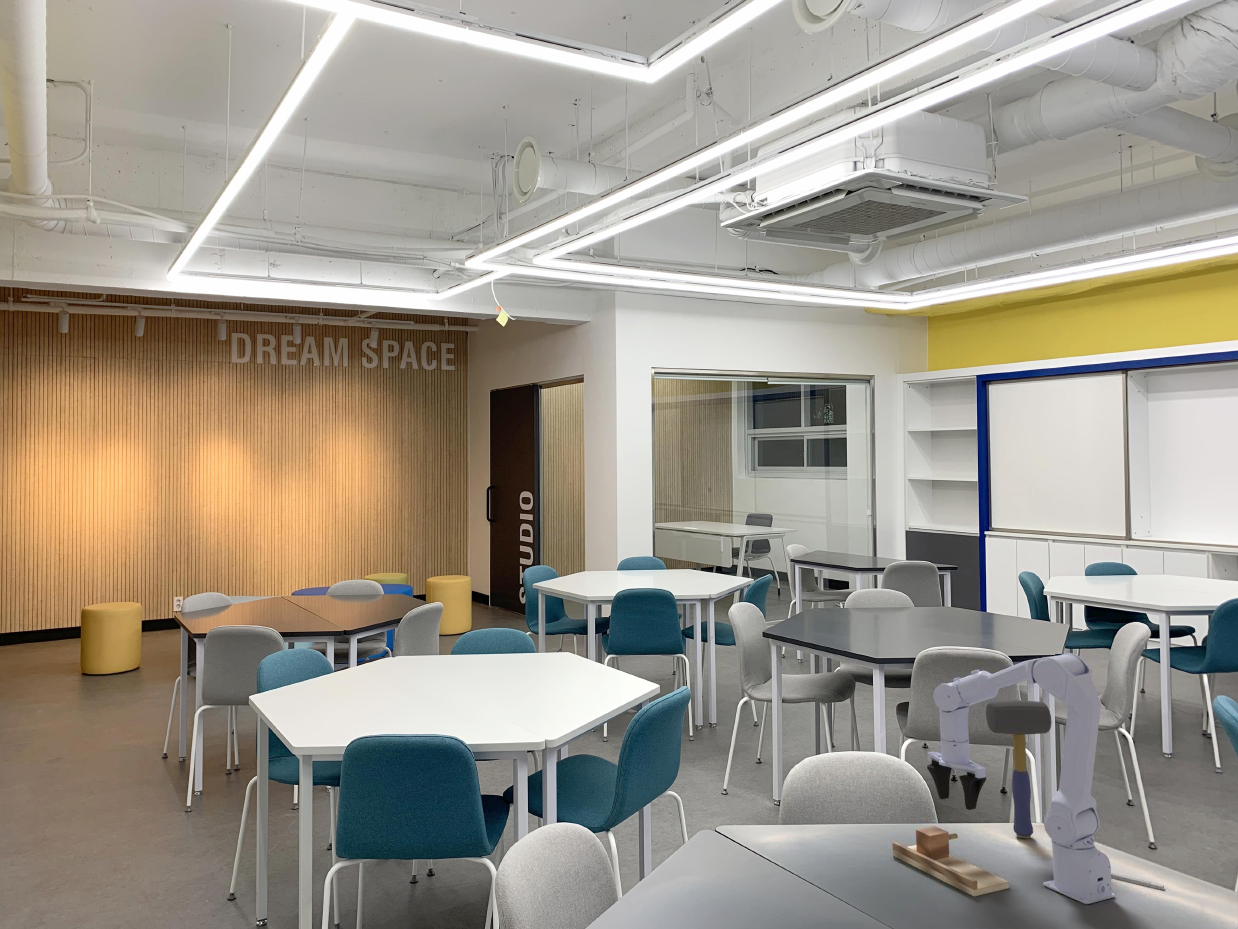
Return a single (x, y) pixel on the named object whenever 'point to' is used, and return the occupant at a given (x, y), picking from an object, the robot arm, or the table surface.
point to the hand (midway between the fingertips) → (957, 803)
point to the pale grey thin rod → (1137, 881)
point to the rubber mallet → (1019, 749)
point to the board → (952, 871)
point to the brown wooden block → (933, 842)
